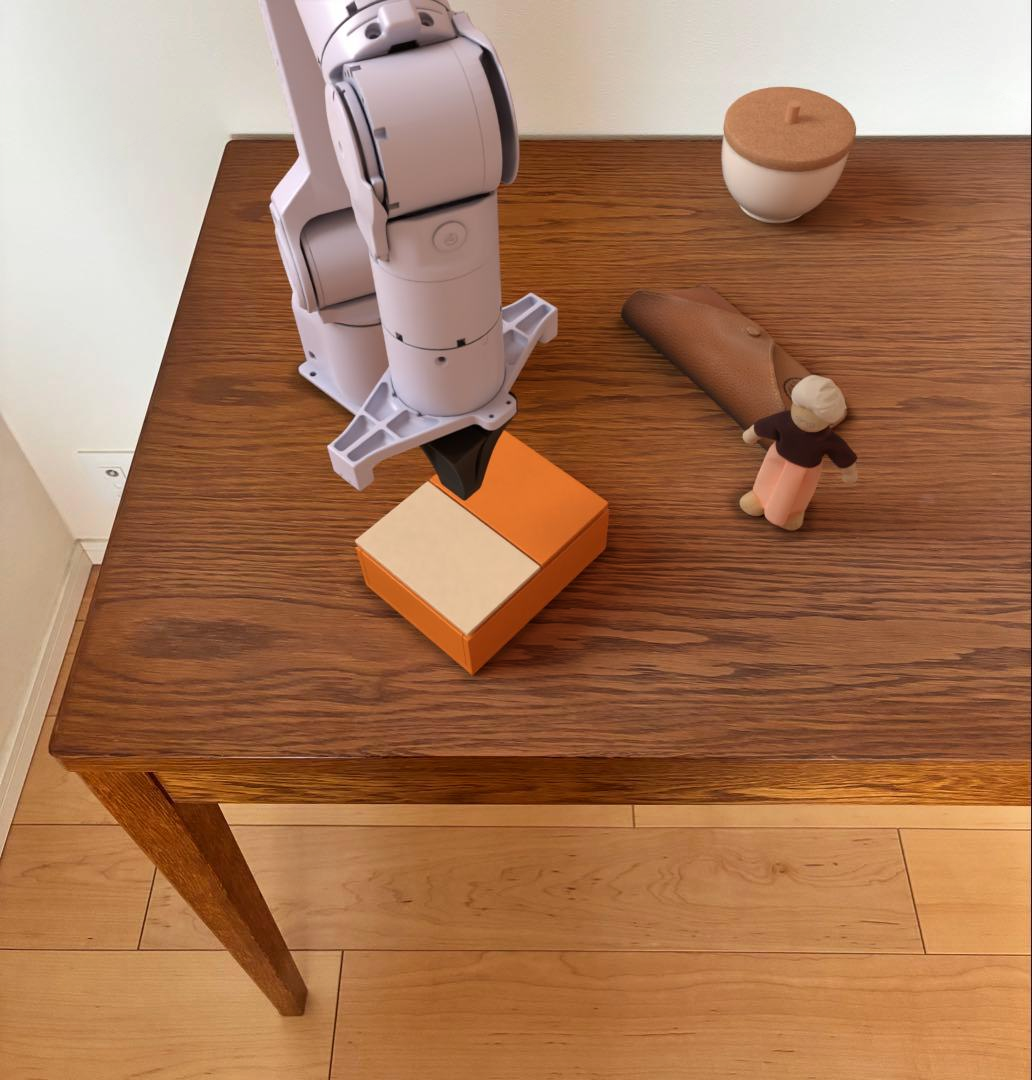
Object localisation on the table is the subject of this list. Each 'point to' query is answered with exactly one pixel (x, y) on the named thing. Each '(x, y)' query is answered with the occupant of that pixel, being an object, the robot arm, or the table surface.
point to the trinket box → (784, 151)
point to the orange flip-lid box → (526, 523)
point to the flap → (448, 557)
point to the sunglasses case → (718, 351)
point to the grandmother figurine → (798, 453)
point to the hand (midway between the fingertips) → (460, 485)
